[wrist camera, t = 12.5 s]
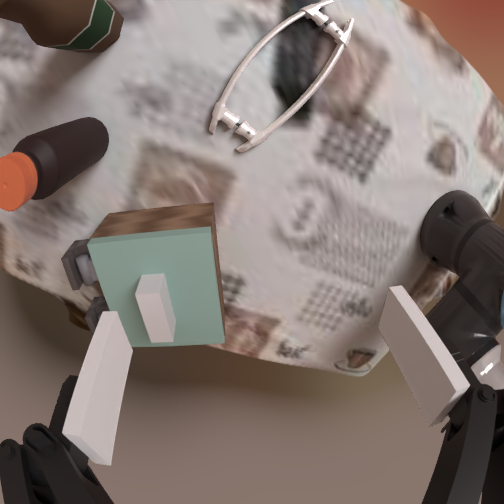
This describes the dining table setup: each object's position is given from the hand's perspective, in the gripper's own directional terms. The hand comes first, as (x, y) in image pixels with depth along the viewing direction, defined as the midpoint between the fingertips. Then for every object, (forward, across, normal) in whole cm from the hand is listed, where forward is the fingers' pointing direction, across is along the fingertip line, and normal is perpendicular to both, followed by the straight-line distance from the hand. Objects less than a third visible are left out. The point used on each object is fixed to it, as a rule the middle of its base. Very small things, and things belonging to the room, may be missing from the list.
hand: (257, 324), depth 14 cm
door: (+23, +12, +15) cm, 30 cm away
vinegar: (+31, +20, -6) cm, 37 cm away
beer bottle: (+31, +17, -22) cm, 42 cm away
